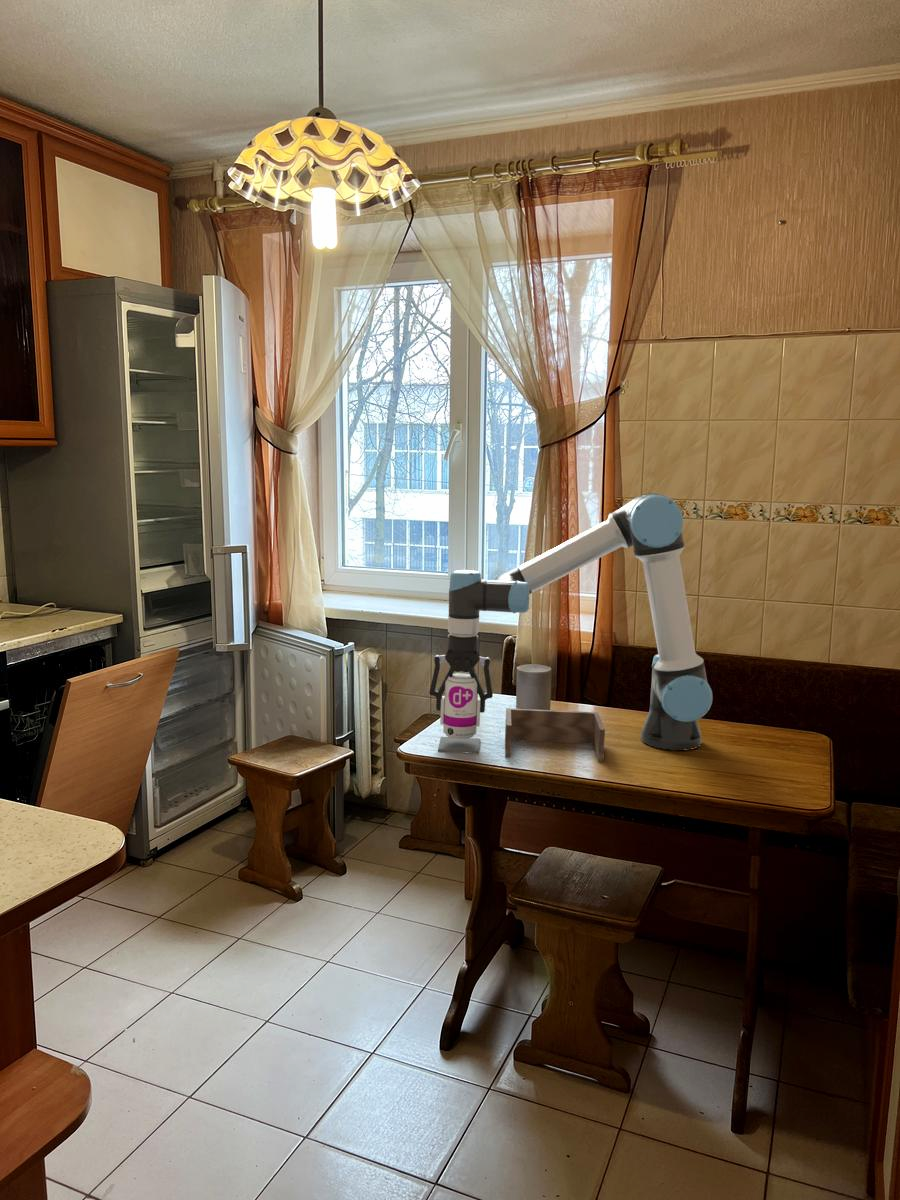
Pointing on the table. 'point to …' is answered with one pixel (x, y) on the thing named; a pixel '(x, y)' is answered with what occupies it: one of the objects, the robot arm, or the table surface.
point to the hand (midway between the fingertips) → (460, 723)
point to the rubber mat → (459, 745)
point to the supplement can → (460, 706)
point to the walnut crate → (555, 728)
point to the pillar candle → (533, 687)
